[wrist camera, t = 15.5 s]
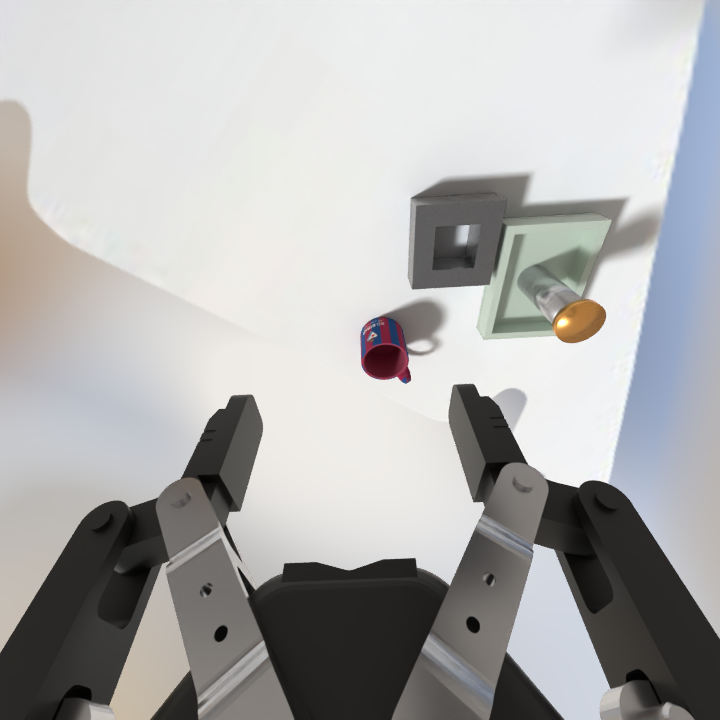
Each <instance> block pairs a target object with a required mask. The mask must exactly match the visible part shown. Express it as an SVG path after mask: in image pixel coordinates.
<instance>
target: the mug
mask: <svg viewBox="0 0 720 720" xmlns="http://www.w3.org/2000/svg"><path fill="white" fill-rule="evenodd" d="M408 362H409V357H408V353H407V348H406V344H405V339H404V335H403V330H402V328H401V326H400V325H399V324H398V323H397V322H396V321H394V320H392V319H390V318H376V319H373V320H371V321H369V322H368V323H367V324H366V325H365V326H364V327H363V329H362V331H361V364H362V368H363V370H364V371H365V372H366V373H367V374H368V375H369V376H371V377H373V378H376V379H381V380H386V379H392V378H395V377H398V378H399V379H400V380H401V381H402V382H403V383H405V384H406V383H408V382H410V381H411V375H410V371H409V369H408V367H407V366H408Z"/></svg>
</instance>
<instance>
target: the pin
mask: <svg viewBox="0 0 720 720" xmlns="http://www.w3.org/2000/svg"><path fill="white" fill-rule="evenodd" d="M517 286H518V288H519V289H520V291H521V292H522V293H523V294H524V295H525V296H526V297H527V298H528V299H529V300H530V301H531V302H532V303H533V304H534V305H535V306H536V307H537V309H538V310H539V311H540V312H541V313H542V314H543V315H544V316H545V317H546V318H547V319H548V320H549V321H550V322H551V323H552V330H553V332H554V334H555V335H556V336H557V337H558V338H559V339H560V340H561V341H563V342H566V343H577V342H581V341H584V340H586V339H588V338H590V337H591V336H593V335H594V334H595V333H597V332H598V331H599V330H600V328H601V327H602V326H603V324H604V322H605V319H606V312H605V310H604V308H603V307H602V306H600V305H599V304H598V303H597V302H595V301H593V300H590V299H583V298H582V297H580V296H579V295H578V294H577V293H575V292H574V291H573V290H572V289H571V288H569V287H568V286H567V285H566V284H564V283H563V282H562V281H561V280H559V279H558V278H557V277H556V276H554V275H553V274H552V273H551V272H549V271H548V270H547V269H546V268H544V267H543V266H541V265H533V266H530V267H528V268H526V269H525V270H523V271H522V272H521V274H520V275H519V277H518V279H517Z"/></svg>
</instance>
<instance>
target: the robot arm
mask: <svg viewBox="0 0 720 720" xmlns="http://www.w3.org/2000/svg"><path fill="white" fill-rule="evenodd" d="M449 424H450V428H451V431H452V434H453V437H454V441H455V444H456V447H457V450H458V454H459V457H460V460H461V463H462V467H463V470H464V473H465V476H466V480H467V483H468V486H469V489H470V493H471V496H472V499H473V502H483V503H484V506H485V509H484V511H483V513H482V516H481V518H480V520H479V521H478V523H477V525H476V528H475V530H474V532H473V534H472V537H471V540H470V541H469V544H468V546H467V548H466V551H465V553H464V555H463V557H462V560H461V562H460V564H459V567H458V569H457V571H456V573H455V576H454V578H453V580H452V583H451V585H450V586H449V585H448V584H447V583H446V582H445V581H443V580H442V579H441V578H439V577H438V576H436V575H434V574H432V573H430V572H428V571H426V570H423V569H420V568H417V567H416V559H415V558H410V559H384V560H380V561H377V562H374V563H371V564H369V565H366V566H363V567H360V568H357V569H354V570H344V569H340V568H336V567H332V566H329V565H325V564H321V563H317V562H310V563H285V564H284V569H283V574H280V575H277V576H275V577H273V578H271V579H270V580H268V581H267V582H265V583H264V584H263V585H261V586H260V587H259V588H257V586H256V584H255V582H254V580H253V578H252V577H251V575H250V573H249V571H248V569H247V567H246V565H245V563H244V561H243V558H242V556H241V554H240V552H239V549H238V547H237V545H236V543H235V540H234V538H233V536H232V534H231V531H230V529H229V527H228V525H227V523H226V521H227V518H228V515H229V512H237V511H240V510H241V507H242V503H243V499H244V496H245V493H246V489H247V486H248V482H249V479H250V475H251V472H252V468H253V465H254V461H255V457H256V454H257V451H258V447H259V444H260V440H261V437H262V432H263V423H262V419H261V416H260V413H259V410H258V408H257V405H256V402H255V399H254V397H253V395H234V396H231V398H230V400H229V402H228V404H227V407H226V409H219V410H218V411H217V412H216V413H215V414H214V415H213V416H212V417H211V418H210V419H209V421H208V423H207V425H206V427H205V430H204V433H203V434H202V436H201V438H200V442H198V444H197V446H196V449H195V451H194V453H193V455H192V457H191V459H190V461H189V463H188V465H187V467H186V469H185V471H184V474H183V476H182V477H181V479H180V480H177V481H175V482H173V483H172V484H170V485H169V486H168V487H167V488H166V489H165V490H164V491H163V492H162V493H161V494H160V496H159V497H158V498H156V499H153V500H150V501H147V502H144V503H141V504H138V505H135V506H132V507H128V506H127V505H126V504H125V503H124V502H122V501H110V502H107V503H104V504H102V505H100V506H98V507H97V508H95V509H94V510H92V511H91V512H90V513H89V514H88V515H87V516H86V517H85V518H84V519H83V520H82V521H81V523H80V524H79V526H78V527H77V529H76V530H75V532H74V534H73V535H72V537H71V539H70V540H69V542H68V544H67V545H66V547H65V548H64V550H63V552H62V554H61V555H60V557H59V558H58V560H57V562H56V563H55V565H54V566H53V568H52V570H51V571H50V573H49V575H48V576H47V578H46V580H45V581H44V583H43V584H42V586H41V588H40V589H39V591H38V592H37V594H36V596H35V597H34V599H33V601H32V602H31V604H30V606H29V607H28V609H27V611H26V612H25V614H24V615H23V617H22V619H21V620H20V622H19V623H18V625H17V627H16V629H15V630H14V632H13V633H12V635H11V636H10V638H9V640H8V641H7V643H6V645H5V646H4V648H3V649H2V651H1V653H0V720H115V715H114V712H113V710H112V709H111V708H110V707H109V704H110V702H111V699H112V696H113V694H114V691H115V688H116V686H117V683H118V680H119V678H120V675H121V672H122V669H123V667H124V664H125V662H126V659H127V656H128V654H129V651H130V648H131V646H132V643H133V640H134V638H135V635H136V632H137V629H138V627H139V624H140V622H141V619H142V616H143V613H144V611H145V608H146V606H147V603H148V600H149V598H150V595H151V592H152V590H153V587H154V584H155V581H156V579H157V576H158V573H159V571H160V568H161V565H162V563H165V562H168V561H170V564H168V565H167V566H166V575H167V579H168V583H169V587H170V591H171V595H172V599H173V603H174V607H175V611H176V615H177V618H178V622H179V626H180V630H181V634H182V638H183V642H184V646H185V650H186V654H187V658H188V662H189V665H190V671H189V672H188V673H187V674H186V676H185V677H184V678H183V679H182V681H181V682H180V683H179V684H178V686H177V687H176V688H175V689H174V691H173V692H172V693H171V695H170V696H169V697H168V698H167V699H166V701H165V702H164V703H163V705H162V706H161V707H160V708H159V709H158V711H157V712H156V713H155V714H154V716H153V717H152V718H151V719H150V720H564V719H563V718H562V716H561V715H560V714H559V713H558V712H557V711H556V709H555V708H554V707H553V706H552V705H551V703H550V702H549V701H548V700H547V699H546V698H545V696H544V695H543V694H542V693H541V692H540V690H539V689H538V688H537V687H536V686H535V685H534V683H533V682H532V681H531V680H530V679H529V677H528V676H527V675H526V674H525V673H524V672H523V670H521V668H520V667H519V666H518V664H517V663H516V662H515V661H514V660H513V659H512V657H511V656H510V655H509V654H508V653H507V652H506V649H507V646H508V642H509V639H510V635H511V632H512V629H513V625H514V621H515V618H516V615H517V611H518V607H519V604H520V601H521V597H522V594H523V590H524V587H525V583H526V580H527V576H528V573H529V569H530V566H531V562H532V558H533V550H532V547H533V543H534V544H538V545H541V546H544V547H548V548H551V549H554V550H555V552H556V554H557V557H558V560H559V562H560V565H561V567H562V569H563V572H564V574H565V577H566V579H567V582H568V584H569V587H570V589H571V592H572V594H573V596H574V599H575V602H576V604H577V607H578V609H579V612H580V614H581V616H582V619H583V622H584V624H585V626H586V629H587V631H588V634H589V636H590V639H591V641H592V644H593V646H594V649H595V651H596V654H597V656H598V659H599V661H600V663H601V666H602V669H603V671H604V673H605V676H606V678H607V681H608V683H609V686H610V688H611V689H610V690H608V691H607V692H605V694H604V695H603V696H602V699H601V702H600V717H601V720H720V639H719V637H718V636H717V634H716V633H715V631H714V630H713V628H712V626H711V625H710V623H709V622H708V620H707V619H706V617H705V616H704V614H703V613H702V611H701V610H700V608H699V606H698V605H697V604H696V602H695V600H694V599H693V597H692V596H691V594H690V593H689V591H688V589H687V588H686V586H685V585H684V584H683V582H682V580H681V579H680V577H679V576H678V574H677V573H676V571H675V569H674V568H673V566H672V565H671V564H670V562H669V560H668V559H667V557H666V556H665V554H664V553H663V551H662V549H661V548H660V546H659V545H658V543H657V542H656V540H655V539H654V537H653V536H652V534H651V533H650V531H649V529H648V528H647V527H646V525H645V523H644V522H643V520H642V519H641V517H640V516H639V514H638V512H637V511H636V509H635V508H634V506H633V505H632V503H631V502H630V500H629V499H628V498H627V497H626V496H625V495H624V494H623V493H622V492H621V491H619V490H618V489H617V488H615V487H613V486H612V485H609V484H607V483H604V482H601V481H594V480H593V481H586V482H584V483H583V484H582V485H581V486H580V487H579V488H577V487H573V486H568V485H564V484H560V483H556V482H553V481H550V480H547V479H545V478H544V477H543V475H542V474H541V473H540V472H539V471H537V470H536V469H535V468H533V467H531V466H529V465H528V463H527V462H526V460H525V458H524V456H523V454H522V452H521V450H520V448H519V446H518V444H517V442H516V440H515V438H514V436H513V434H512V432H511V430H510V428H509V427H508V424H507V422H506V420H505V419H504V416H503V414H502V412H501V410H500V408H499V406H498V405H497V404H496V403H495V402H494V401H493V400H492V399H491V398H490V397H489V396H484V397H480V395H479V393H478V391H477V389H476V387H475V385H474V384H459V385H454V386H453V389H452V395H451V401H450V407H449Z"/></svg>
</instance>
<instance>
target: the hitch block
mask: <svg viewBox="0 0 720 720" xmlns="http://www.w3.org/2000/svg"><path fill="white" fill-rule="evenodd" d="M506 203H507V199H505V198H503V197H501V196H499V195H498V194H496V193H483V194H467V195H452V196H436V197H421V198H411V210H410V236H409V262H408V279H409V282H410V285H411V288H412V289H426V288H444V287H461V286H478V285H490V281H491V276H492V271H493V267H494V262H495V257H496V252H497V247H498V242H499V237H500V233H501V228H502V223H503V218H504V213H505V208H506ZM459 225H470V227H469V234H468V241H467V248H466V254H465V257H451V258H434V259H433V255H434V243H435V232H436V227H443V226H459Z"/></svg>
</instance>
